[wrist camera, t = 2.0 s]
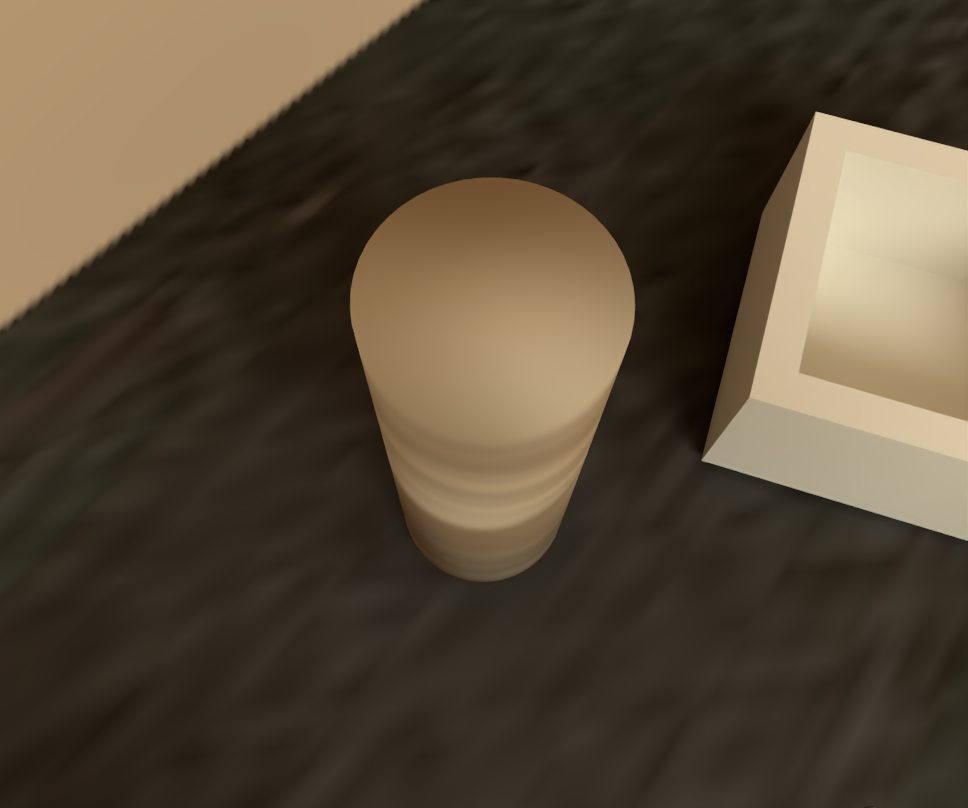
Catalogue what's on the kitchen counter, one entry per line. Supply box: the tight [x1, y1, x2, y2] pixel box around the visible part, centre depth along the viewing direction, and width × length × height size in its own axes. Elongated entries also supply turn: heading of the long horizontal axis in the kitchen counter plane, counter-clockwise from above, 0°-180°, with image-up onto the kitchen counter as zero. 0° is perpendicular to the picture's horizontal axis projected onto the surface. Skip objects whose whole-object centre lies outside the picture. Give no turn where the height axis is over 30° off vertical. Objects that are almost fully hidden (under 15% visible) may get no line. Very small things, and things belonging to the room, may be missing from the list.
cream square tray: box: [702, 112, 968, 541], centre depth 20 cm, size 7×7×4 cm
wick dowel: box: [350, 178, 635, 582], centre depth 16 cm, size 4×4×10 cm
